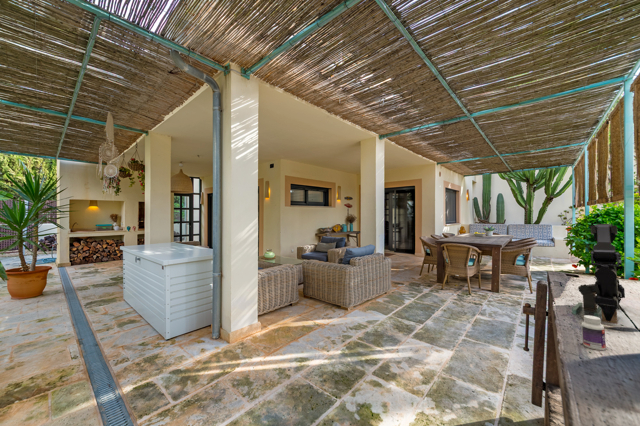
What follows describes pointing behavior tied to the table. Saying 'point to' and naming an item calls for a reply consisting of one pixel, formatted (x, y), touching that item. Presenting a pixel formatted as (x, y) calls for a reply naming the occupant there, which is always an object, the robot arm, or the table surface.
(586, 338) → the pill bottle
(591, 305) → the mounted finger
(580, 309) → the rail
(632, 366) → the table surface
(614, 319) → the block
